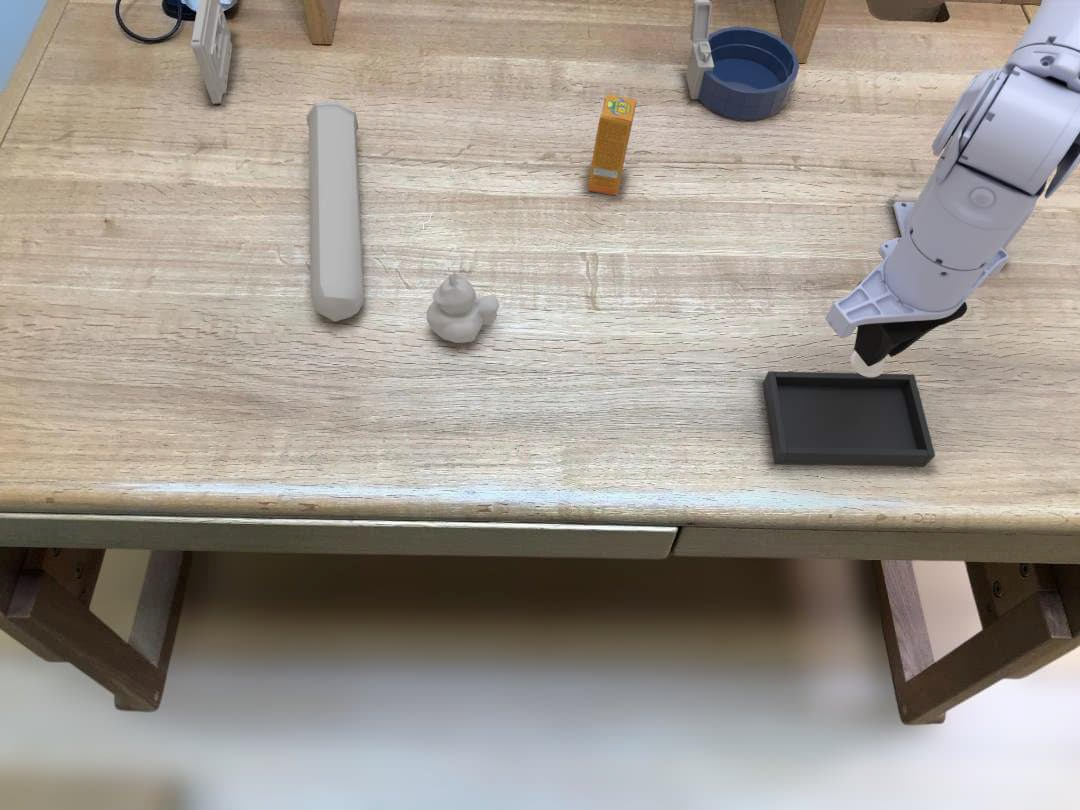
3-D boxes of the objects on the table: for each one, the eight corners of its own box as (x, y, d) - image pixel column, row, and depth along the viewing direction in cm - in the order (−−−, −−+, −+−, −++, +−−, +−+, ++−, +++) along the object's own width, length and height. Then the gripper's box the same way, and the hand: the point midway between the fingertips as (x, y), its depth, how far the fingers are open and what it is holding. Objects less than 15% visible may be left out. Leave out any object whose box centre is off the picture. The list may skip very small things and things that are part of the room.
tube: (373, 299, 76) (362, 105, 88) (311, 292, 74) (309, 95, 86) (362, 333, 80) (353, 143, 92) (303, 328, 78) (303, 135, 90)
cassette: (219, 35, 99) (198, -27, 93) (235, 34, 99) (216, -27, 93) (208, 105, 93) (185, 45, 87) (225, 105, 93) (204, 44, 87)
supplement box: (619, 197, 88) (632, 121, 80) (587, 191, 89) (596, 115, 80) (624, 174, 90) (637, 98, 81) (592, 169, 90) (602, 92, 82)
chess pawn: (879, 383, 69) (905, 349, 65) (845, 370, 70) (869, 335, 65) (887, 357, 71) (913, 322, 66) (854, 344, 71) (877, 308, 67)
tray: (904, 386, 78) (914, 374, 76) (925, 466, 74) (935, 455, 72) (762, 383, 78) (768, 370, 76) (774, 464, 73) (781, 453, 72)
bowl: (781, 57, 101) (791, 28, 97) (795, 123, 95) (806, 94, 92) (687, 54, 100) (693, 24, 97) (695, 120, 95) (703, 91, 91)
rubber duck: (426, 307, 80) (419, 251, 74) (496, 301, 81) (495, 246, 74) (430, 355, 78) (423, 302, 71) (502, 348, 78) (502, 295, 72)
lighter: (706, 99, 96) (721, 37, 89) (691, 99, 96) (705, 37, 89) (696, 57, 100) (710, -5, 93) (681, 58, 100) (694, -5, 93)
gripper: (995, 166, 60) (915, 285, 72) (828, 229, 57) (773, 344, 68) (1066, 235, 57) (970, 348, 69) (894, 307, 54) (824, 413, 65)
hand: (875, 351), depth 68 cm, fingers closed on chess pawn, 2 cm apart
